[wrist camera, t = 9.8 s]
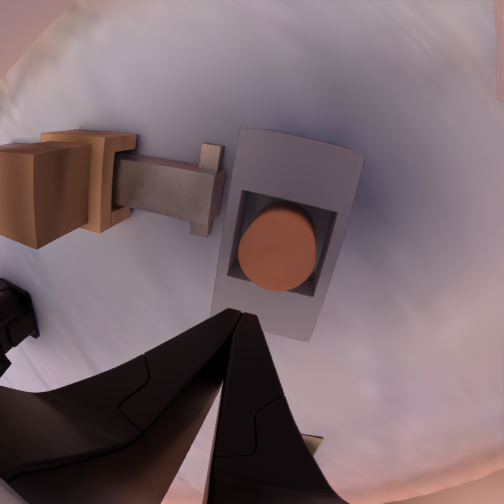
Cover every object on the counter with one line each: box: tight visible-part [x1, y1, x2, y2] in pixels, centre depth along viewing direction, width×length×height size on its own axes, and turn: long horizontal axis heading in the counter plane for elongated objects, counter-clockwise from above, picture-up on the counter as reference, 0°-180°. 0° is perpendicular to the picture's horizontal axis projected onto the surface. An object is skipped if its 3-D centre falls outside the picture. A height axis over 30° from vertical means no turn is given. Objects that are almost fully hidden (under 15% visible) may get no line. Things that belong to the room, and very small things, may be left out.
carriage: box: [0, 130, 137, 249], centre depth 17 cm, size 6×6×8 cm
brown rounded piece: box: [238, 202, 315, 291], centre depth 13 cm, size 3×3×3 cm
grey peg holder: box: [210, 127, 365, 342], centre depth 16 cm, size 5×9×7 cm, turn 170°
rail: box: [0, 143, 226, 237], centre depth 20 cm, size 22×6×2 cm, turn 80°
